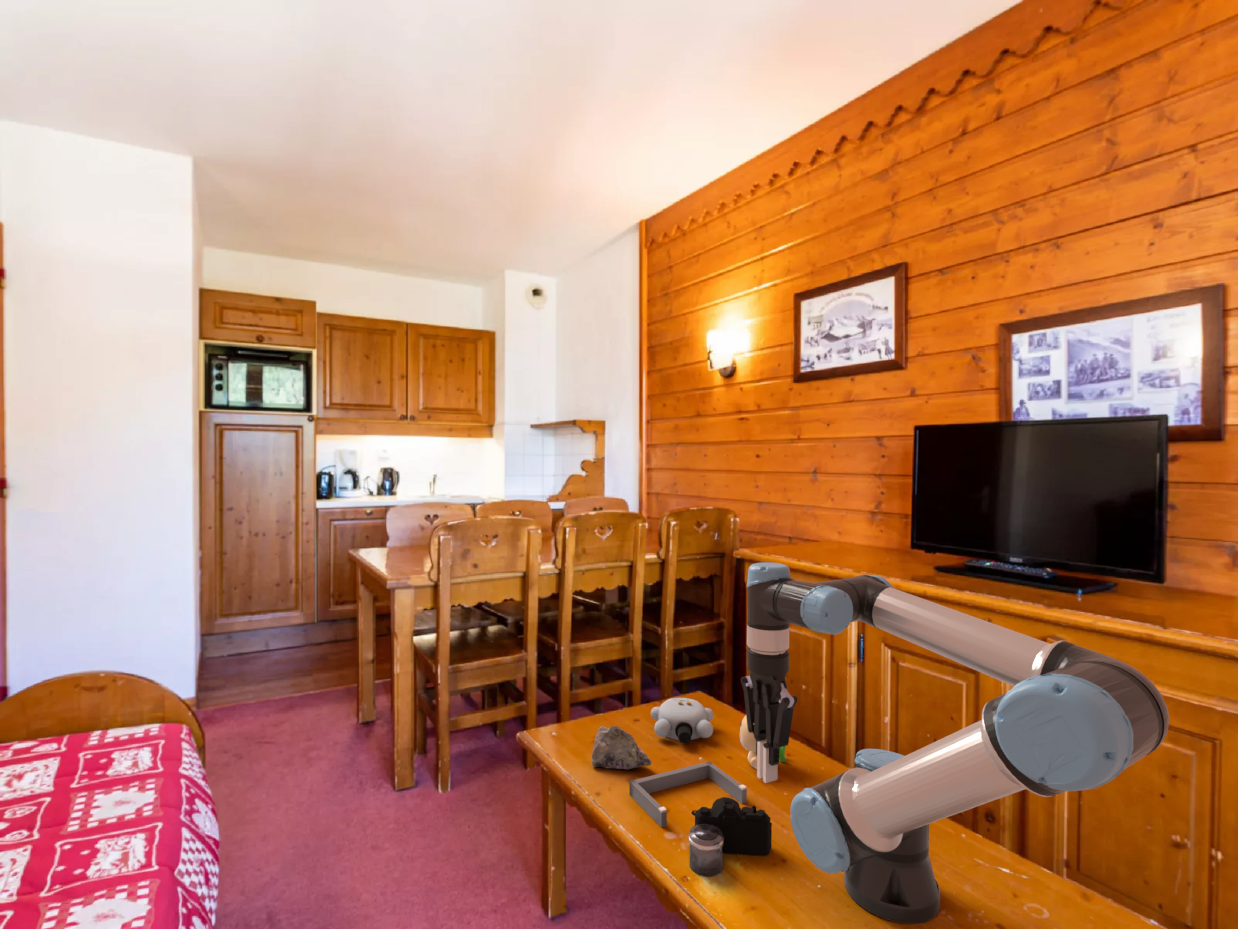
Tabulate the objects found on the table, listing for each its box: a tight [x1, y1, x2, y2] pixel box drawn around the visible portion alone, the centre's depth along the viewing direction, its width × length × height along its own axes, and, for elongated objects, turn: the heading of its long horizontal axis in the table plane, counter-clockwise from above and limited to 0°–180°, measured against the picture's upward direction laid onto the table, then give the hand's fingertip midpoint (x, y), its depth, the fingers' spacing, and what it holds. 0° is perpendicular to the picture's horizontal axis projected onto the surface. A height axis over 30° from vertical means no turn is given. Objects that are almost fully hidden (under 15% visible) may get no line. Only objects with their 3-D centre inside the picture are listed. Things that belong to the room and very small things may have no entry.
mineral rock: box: [591, 725, 653, 771], centre depth 152 cm, size 13×11×10 cm
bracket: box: [628, 761, 748, 828], centre depth 138 cm, size 14×21×3 cm, turn 117°
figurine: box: [650, 697, 714, 745], centre depth 172 cm, size 17×8×20 cm
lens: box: [687, 824, 724, 878], centre depth 115 cm, size 6×6×6 cm
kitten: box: [738, 714, 787, 770], centre depth 154 cm, size 15×10×15 cm
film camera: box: [691, 796, 773, 857], centre depth 123 cm, size 15×10×9 cm, turn 84°
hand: (767, 778), depth 114 cm, fingers closed
